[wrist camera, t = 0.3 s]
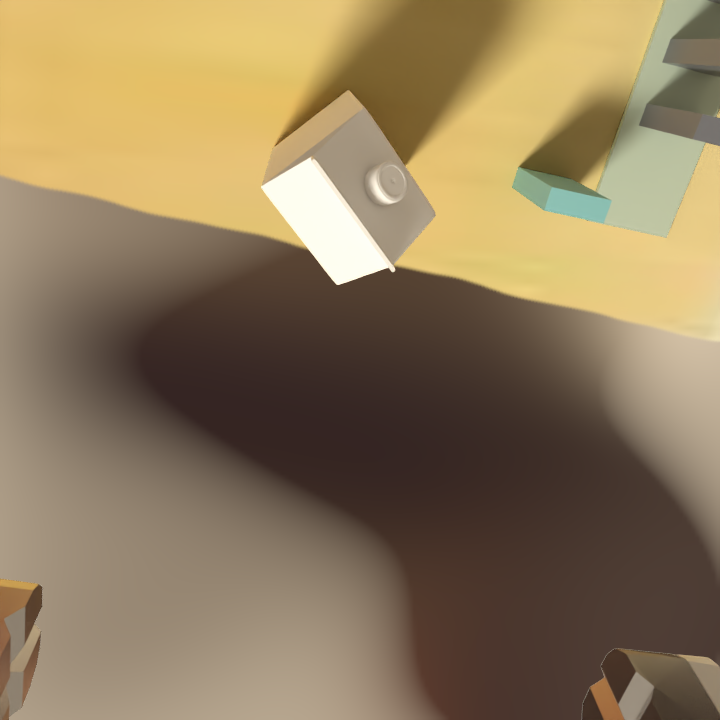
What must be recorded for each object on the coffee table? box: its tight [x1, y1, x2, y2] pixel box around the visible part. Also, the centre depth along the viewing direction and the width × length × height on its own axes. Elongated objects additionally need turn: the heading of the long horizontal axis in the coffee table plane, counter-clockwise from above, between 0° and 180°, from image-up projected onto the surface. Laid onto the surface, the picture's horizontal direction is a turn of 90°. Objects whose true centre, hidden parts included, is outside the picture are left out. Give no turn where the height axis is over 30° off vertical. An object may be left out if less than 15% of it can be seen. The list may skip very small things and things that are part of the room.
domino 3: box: [639, 104, 720, 146], centre depth 48 cm, size 2×4×8 cm, turn 78°
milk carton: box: [261, 90, 435, 285], centre depth 43 cm, size 7×7×19 cm
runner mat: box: [587, 0, 720, 238], centre depth 50 cm, size 26×7×1 cm, turn 167°
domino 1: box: [512, 167, 612, 223], centre depth 50 cm, size 2×4×8 cm, turn 77°
